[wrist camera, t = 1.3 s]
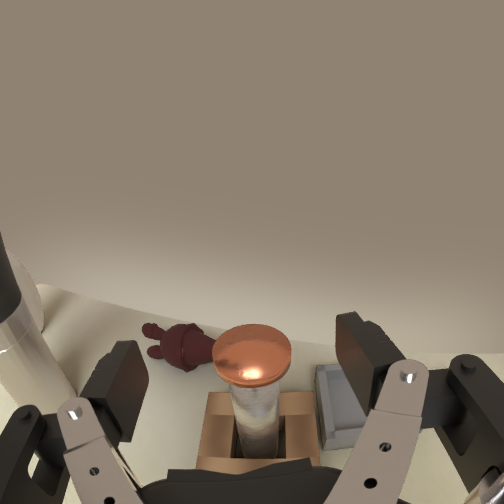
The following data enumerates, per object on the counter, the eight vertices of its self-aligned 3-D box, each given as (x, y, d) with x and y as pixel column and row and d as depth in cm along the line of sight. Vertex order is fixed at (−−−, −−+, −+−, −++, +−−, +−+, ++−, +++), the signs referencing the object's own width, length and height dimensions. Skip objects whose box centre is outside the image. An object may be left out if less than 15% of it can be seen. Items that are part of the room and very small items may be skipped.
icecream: (245, 317, 40) (153, 310, 45) (226, 343, 34) (125, 329, 38) (249, 360, 42) (161, 349, 46) (232, 390, 35) (136, 371, 39)
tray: (322, 450, 27) (326, 439, 26) (314, 379, 37) (316, 365, 36) (419, 434, 27) (427, 421, 25) (396, 370, 36) (402, 356, 35)
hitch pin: (233, 470, 26) (206, 378, 18) (236, 429, 31) (217, 324, 23) (285, 470, 26) (293, 378, 18) (284, 429, 31) (289, 323, 23)
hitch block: (200, 492, 23) (193, 482, 22) (213, 407, 34) (208, 391, 32) (317, 493, 23) (321, 484, 21) (310, 407, 33) (312, 391, 32)
